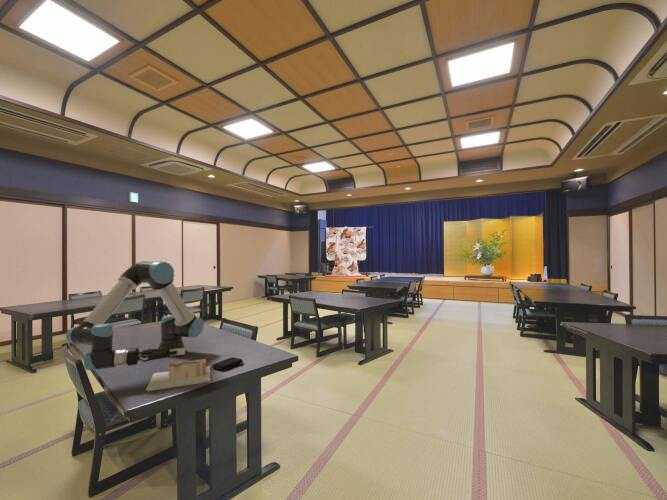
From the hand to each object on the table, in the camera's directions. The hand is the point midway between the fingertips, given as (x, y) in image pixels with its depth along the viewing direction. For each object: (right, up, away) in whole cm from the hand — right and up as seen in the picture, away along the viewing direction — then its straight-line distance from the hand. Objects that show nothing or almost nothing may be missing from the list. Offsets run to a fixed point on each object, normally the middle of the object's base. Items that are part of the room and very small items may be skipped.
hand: (184, 351), depth 148 cm
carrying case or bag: (+16, -14, +15) cm, 26 cm away
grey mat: (-1, -13, -1) cm, 13 cm away
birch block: (-6, -9, -3) cm, 11 cm away
